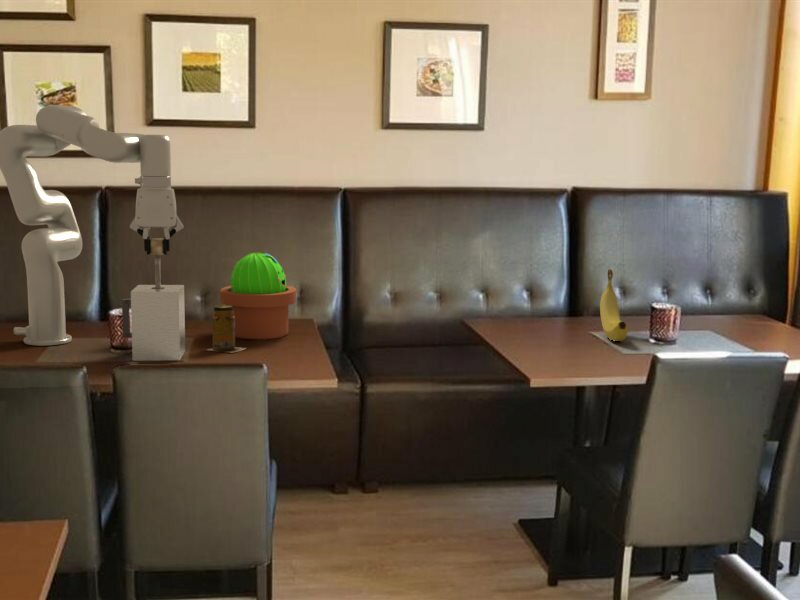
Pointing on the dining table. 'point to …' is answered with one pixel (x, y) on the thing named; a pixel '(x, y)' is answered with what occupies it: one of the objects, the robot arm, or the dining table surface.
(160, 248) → the plunger
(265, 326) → the potted cactus
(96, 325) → the dining table surface
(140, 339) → the press housing
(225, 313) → the condiment
